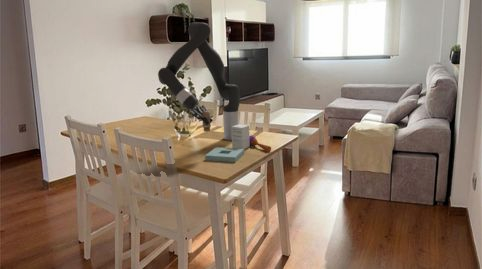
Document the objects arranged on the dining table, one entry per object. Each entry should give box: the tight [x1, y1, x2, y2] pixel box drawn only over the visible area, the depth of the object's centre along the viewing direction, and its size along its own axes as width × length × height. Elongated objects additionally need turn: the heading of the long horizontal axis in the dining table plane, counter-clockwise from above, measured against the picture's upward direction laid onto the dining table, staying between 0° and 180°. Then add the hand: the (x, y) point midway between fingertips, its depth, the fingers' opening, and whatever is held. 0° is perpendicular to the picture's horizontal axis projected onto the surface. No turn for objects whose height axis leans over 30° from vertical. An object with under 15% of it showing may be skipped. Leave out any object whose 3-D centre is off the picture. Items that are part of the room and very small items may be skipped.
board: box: [204, 147, 245, 163], centre depth 201 cm, size 16×16×2 cm
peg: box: [202, 110, 212, 132], centre depth 200 cm, size 4×4×10 cm
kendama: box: [249, 135, 272, 153], centre depth 217 cm, size 6×6×20 cm
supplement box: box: [231, 123, 251, 150], centre depth 217 cm, size 7×7×13 cm
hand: (210, 122), depth 200 cm, fingers closed on peg, 4 cm apart
